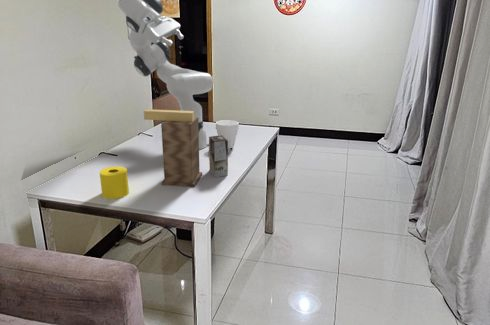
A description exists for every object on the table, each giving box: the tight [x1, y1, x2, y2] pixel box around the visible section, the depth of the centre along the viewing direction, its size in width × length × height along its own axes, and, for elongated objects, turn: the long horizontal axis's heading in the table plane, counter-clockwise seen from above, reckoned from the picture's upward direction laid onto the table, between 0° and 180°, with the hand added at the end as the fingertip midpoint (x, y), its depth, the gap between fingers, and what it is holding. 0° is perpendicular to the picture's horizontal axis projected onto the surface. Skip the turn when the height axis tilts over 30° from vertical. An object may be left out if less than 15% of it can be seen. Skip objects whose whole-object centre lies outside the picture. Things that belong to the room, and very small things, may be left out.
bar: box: [143, 108, 195, 122], centre depth 163 cm, size 20×4×4 cm, turn 83°
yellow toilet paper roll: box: [99, 166, 130, 200], centre depth 156 cm, size 10×10×9 cm
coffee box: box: [208, 135, 229, 178], centre depth 177 cm, size 9×6×16 cm
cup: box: [215, 119, 240, 150], centre depth 214 cm, size 12×12×14 cm
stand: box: [160, 117, 203, 188], centre depth 168 cm, size 14×14×26 cm
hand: (177, 41), depth 175 cm, fingers open, 8 cm apart
